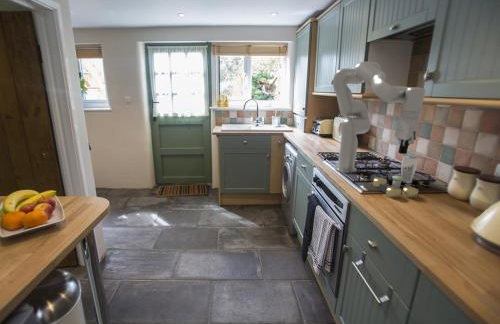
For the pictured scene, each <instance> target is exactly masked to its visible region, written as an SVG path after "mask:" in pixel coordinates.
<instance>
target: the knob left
mask: <svg viewBox="0 0 500 324" xmlns="http://www.w3.org/2000/svg"><path fill="white" fill-rule="evenodd" d="M370 181H371V182H372V186H373V187H375V188H377V189H379V186H380V184H385V185H387V183H388V180H387V179H386V178H384V177H383V178H382V177H379V176H377V175H376V174H372V175H371V177H370Z"/></svg>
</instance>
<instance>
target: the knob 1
mask: <svg viewBox="0 0 500 324" xmlns="http://www.w3.org/2000/svg"><path fill="white" fill-rule="evenodd" d="M378 191H381V192H382V193H385V196H386V197H387V198H389V199H396V200H398V199H401V195H402V189H401V188H400V189H399V188H397V187H392V185H391V186H389V185H387V184H386V185H385V184H380V186H379V188H378Z"/></svg>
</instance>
